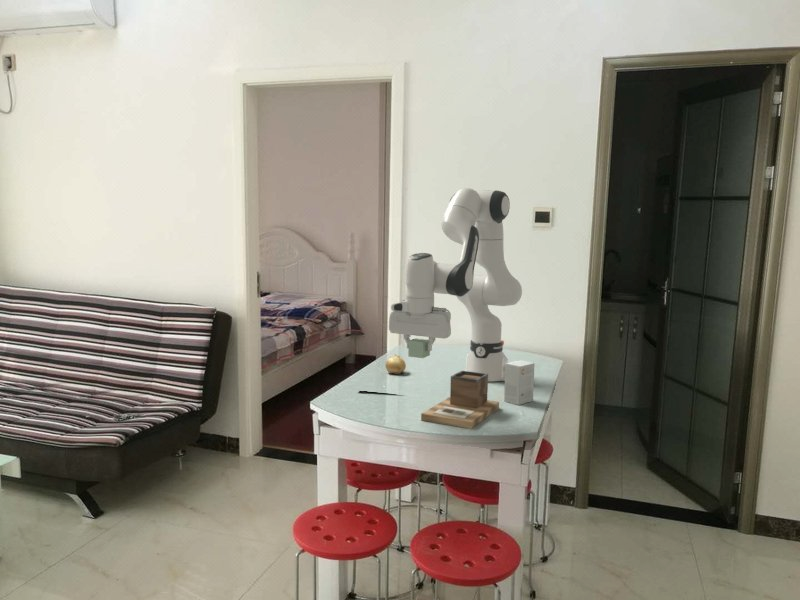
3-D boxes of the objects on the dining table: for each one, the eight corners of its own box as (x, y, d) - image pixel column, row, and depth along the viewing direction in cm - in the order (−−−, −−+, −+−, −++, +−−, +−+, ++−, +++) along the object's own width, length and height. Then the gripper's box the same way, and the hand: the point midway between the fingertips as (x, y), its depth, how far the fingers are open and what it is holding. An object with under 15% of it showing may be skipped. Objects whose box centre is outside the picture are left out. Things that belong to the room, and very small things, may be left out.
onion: (408, 374, 247) (408, 356, 246) (389, 376, 245) (389, 357, 244) (401, 370, 255) (401, 352, 254) (382, 371, 252) (382, 353, 251)
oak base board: (452, 400, 211) (453, 368, 210) (499, 408, 204) (500, 374, 203) (421, 420, 190) (421, 384, 189) (471, 428, 183) (472, 391, 182)
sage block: (415, 353, 203) (415, 338, 203) (429, 355, 201) (430, 339, 200) (408, 356, 199) (408, 340, 198) (422, 358, 197) (423, 342, 196)
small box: (518, 397, 217) (519, 359, 216) (533, 401, 213) (535, 362, 211) (503, 401, 212) (504, 362, 210) (519, 405, 207) (520, 366, 206)
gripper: (454, 307, 196) (453, 351, 198) (396, 302, 205) (395, 344, 207) (446, 309, 190) (445, 355, 192) (386, 304, 200) (386, 348, 202)
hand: (419, 349), depth 200 cm, fingers closed on sage block, 5 cm apart
